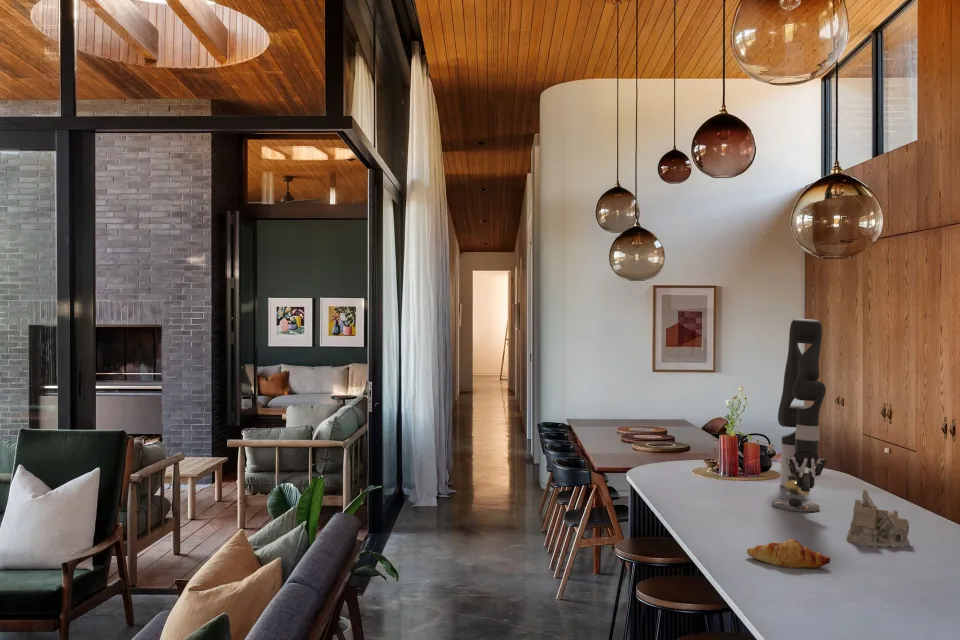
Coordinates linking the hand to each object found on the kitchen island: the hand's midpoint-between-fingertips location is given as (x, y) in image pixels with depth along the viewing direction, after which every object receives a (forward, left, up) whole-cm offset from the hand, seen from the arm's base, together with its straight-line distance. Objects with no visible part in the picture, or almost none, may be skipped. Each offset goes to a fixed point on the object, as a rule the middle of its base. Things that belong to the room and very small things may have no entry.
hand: (805, 487), depth 263 cm
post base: (-10, +2, -9) cm, 13 cm away
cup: (-24, +11, -9) cm, 28 cm away
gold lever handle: (-6, +1, -3) cm, 6 cm away
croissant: (+52, -35, -10) cm, 63 cm away
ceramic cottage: (+34, +4, -9) cm, 35 cm away
